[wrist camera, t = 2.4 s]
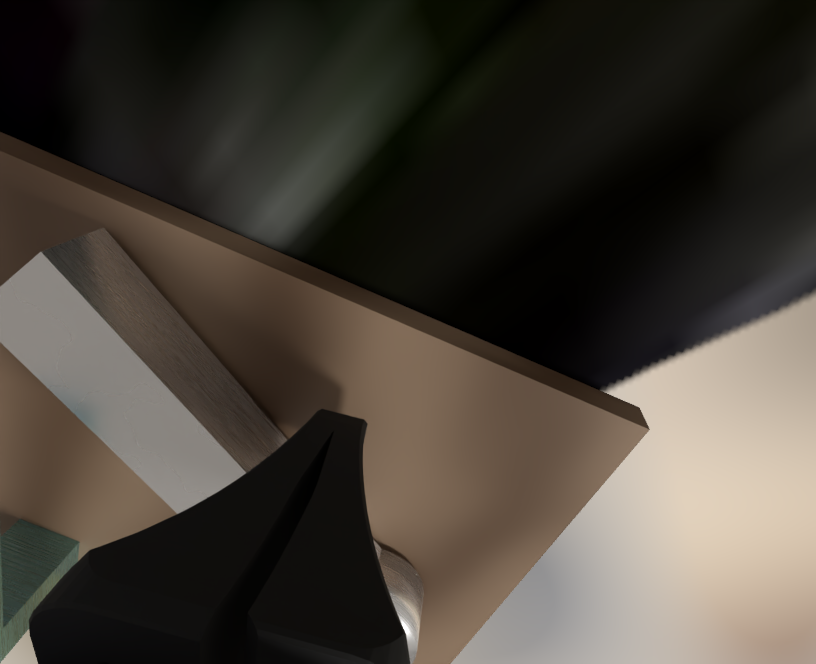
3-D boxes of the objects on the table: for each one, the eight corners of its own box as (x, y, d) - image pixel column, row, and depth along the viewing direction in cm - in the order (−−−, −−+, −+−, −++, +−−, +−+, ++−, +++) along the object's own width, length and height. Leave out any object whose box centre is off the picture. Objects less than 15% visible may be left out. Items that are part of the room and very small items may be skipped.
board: (-40, 508, 21) (-63, 527, 20) (-77, 98, 13) (-118, 100, 12) (414, 684, 22) (411, 709, 21) (639, 407, 14) (649, 429, 13)
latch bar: (445, 605, 17) (438, 699, 15) (355, 629, 19) (333, 719, 16) (115, 217, 12) (14, 255, 10) (27, 290, 14) (-83, 341, 11)
